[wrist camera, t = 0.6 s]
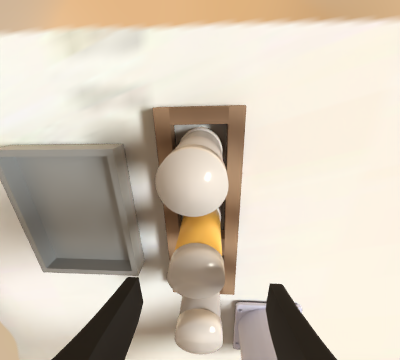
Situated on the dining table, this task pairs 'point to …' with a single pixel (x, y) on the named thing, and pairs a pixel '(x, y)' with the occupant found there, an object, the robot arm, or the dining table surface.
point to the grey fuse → (199, 325)
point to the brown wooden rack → (234, 161)
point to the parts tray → (75, 206)
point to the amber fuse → (198, 257)
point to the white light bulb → (193, 175)
